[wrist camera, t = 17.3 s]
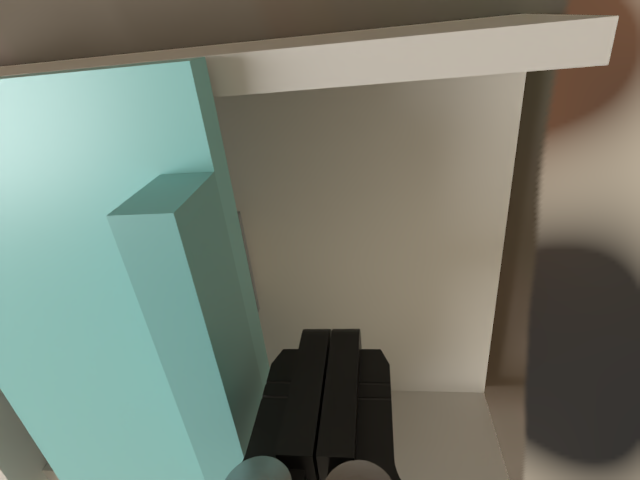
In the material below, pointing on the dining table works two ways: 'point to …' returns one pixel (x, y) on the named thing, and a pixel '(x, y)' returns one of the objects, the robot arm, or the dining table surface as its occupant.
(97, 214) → the teal lid
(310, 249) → the grey housing
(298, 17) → the dining table surface
